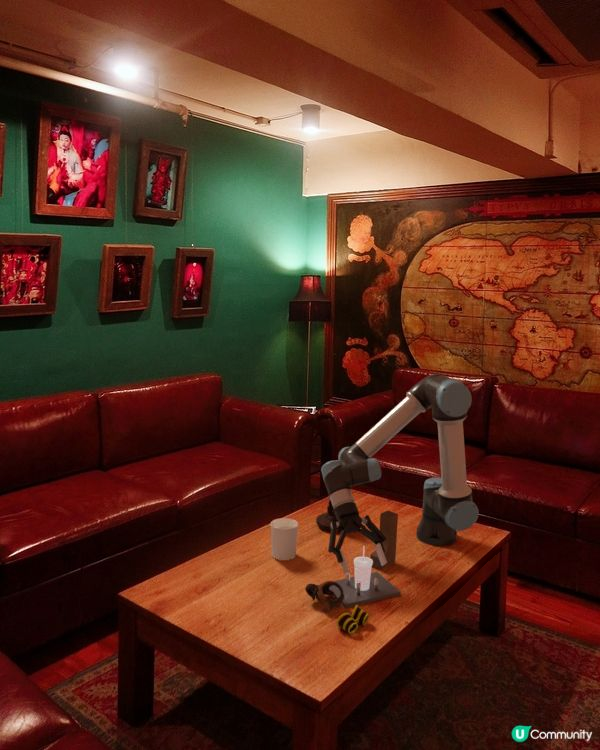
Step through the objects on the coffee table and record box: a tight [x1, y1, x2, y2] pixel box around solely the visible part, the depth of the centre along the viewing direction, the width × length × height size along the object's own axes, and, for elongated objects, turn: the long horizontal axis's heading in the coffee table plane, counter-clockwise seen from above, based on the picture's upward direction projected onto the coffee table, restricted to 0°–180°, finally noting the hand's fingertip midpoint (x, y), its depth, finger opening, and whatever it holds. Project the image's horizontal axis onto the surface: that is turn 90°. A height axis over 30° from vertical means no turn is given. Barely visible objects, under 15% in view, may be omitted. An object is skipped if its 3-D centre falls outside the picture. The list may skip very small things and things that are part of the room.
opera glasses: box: [336, 605, 371, 635], centre depth 188 cm, size 10×5×5 cm, turn 139°
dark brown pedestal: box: [315, 498, 342, 531], centre depth 256 cm, size 15×15×20 cm
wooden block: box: [369, 510, 399, 571], centre depth 225 cm, size 9×4×18 cm, turn 135°
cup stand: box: [329, 571, 402, 609], centre depth 208 cm, size 20×14×5 cm
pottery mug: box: [304, 580, 344, 612], centre depth 199 cm, size 12×10×8 cm
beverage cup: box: [353, 545, 373, 591], centre depth 207 cm, size 6×6×14 cm
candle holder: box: [270, 517, 299, 561], centre depth 230 cm, size 10×10×12 cm
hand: (366, 568), depth 205 cm, fingers open, 13 cm apart
